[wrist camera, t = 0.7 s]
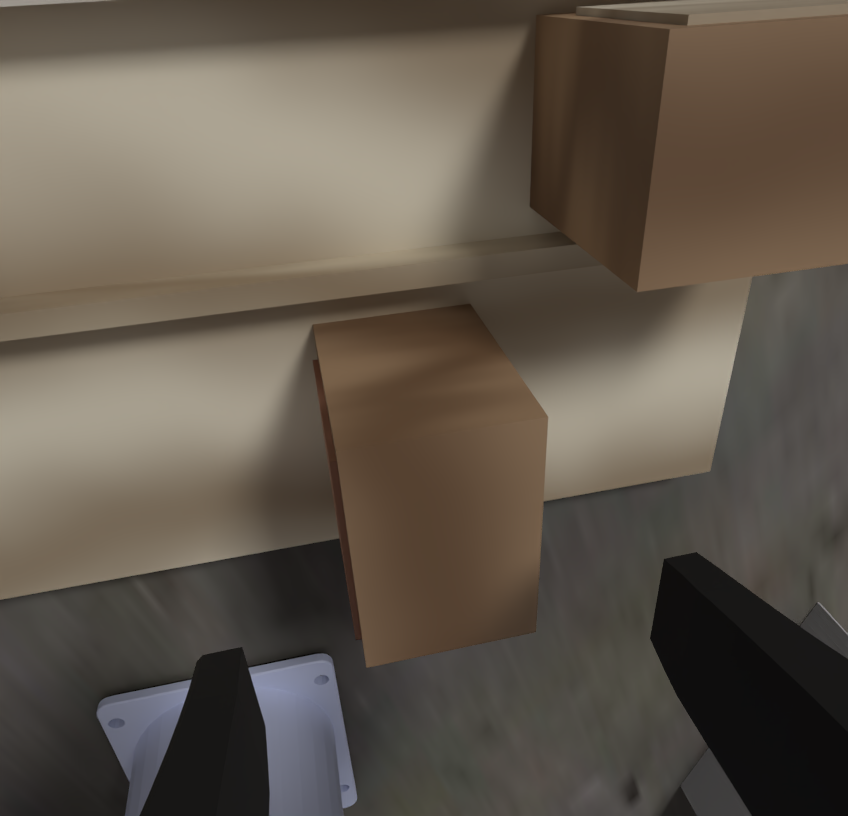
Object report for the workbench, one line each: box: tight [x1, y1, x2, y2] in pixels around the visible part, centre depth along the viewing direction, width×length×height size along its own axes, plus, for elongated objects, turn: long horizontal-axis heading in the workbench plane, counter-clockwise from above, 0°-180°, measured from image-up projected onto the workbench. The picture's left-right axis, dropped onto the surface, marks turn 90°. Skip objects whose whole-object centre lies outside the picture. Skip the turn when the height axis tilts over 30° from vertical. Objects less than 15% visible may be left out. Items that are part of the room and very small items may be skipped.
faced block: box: [530, 0, 848, 292], centre depth 14 cm, size 4×6×6 cm
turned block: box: [312, 304, 548, 668], centre depth 16 cm, size 4×6×6 cm
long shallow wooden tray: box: [0, 0, 752, 600], centre depth 16 cm, size 15×28×2 cm, turn 93°
